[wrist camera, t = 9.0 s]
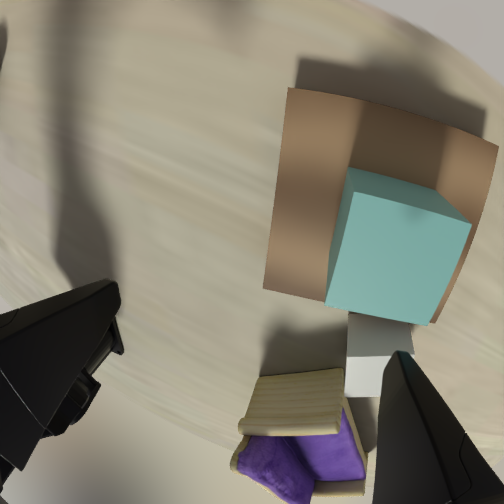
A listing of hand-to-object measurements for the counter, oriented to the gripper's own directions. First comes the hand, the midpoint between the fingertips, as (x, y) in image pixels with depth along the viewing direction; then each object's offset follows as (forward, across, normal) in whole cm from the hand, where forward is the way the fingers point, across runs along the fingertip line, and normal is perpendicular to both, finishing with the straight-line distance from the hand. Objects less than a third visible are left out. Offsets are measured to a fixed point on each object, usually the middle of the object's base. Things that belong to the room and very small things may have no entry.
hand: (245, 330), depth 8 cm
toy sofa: (+12, -8, +24) cm, 28 cm away
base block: (+12, -5, -1) cm, 13 cm away
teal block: (+9, -5, -1) cm, 10 cm away
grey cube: (+12, -8, +9) cm, 17 cm away
